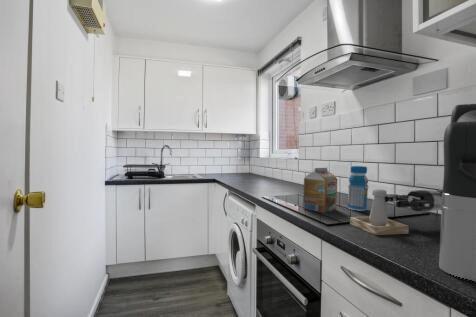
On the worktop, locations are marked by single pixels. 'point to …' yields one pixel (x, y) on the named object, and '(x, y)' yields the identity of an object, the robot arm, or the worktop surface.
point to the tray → (390, 228)
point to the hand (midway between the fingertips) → (387, 201)
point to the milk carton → (320, 191)
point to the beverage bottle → (358, 189)
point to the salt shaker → (378, 209)
